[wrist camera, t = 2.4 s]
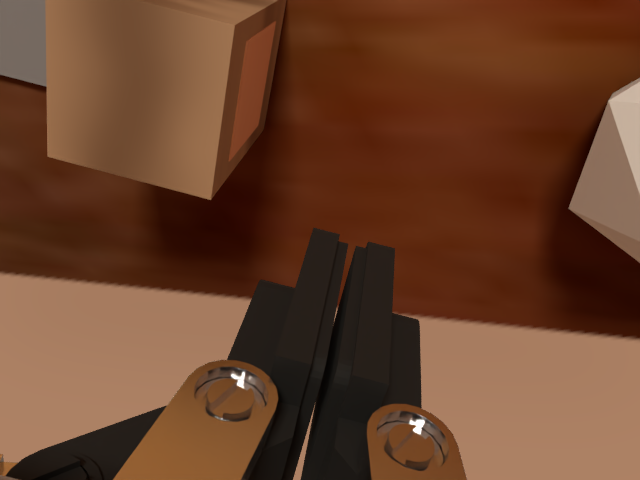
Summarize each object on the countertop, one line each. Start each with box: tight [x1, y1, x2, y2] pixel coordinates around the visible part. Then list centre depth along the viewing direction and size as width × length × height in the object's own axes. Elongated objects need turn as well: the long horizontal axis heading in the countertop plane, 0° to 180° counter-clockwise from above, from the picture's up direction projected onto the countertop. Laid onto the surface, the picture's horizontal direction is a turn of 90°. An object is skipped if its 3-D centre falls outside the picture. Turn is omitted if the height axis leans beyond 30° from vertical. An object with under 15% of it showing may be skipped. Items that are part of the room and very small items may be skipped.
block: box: [45, 0, 286, 200], centre depth 23 cm, size 6×6×8 cm
